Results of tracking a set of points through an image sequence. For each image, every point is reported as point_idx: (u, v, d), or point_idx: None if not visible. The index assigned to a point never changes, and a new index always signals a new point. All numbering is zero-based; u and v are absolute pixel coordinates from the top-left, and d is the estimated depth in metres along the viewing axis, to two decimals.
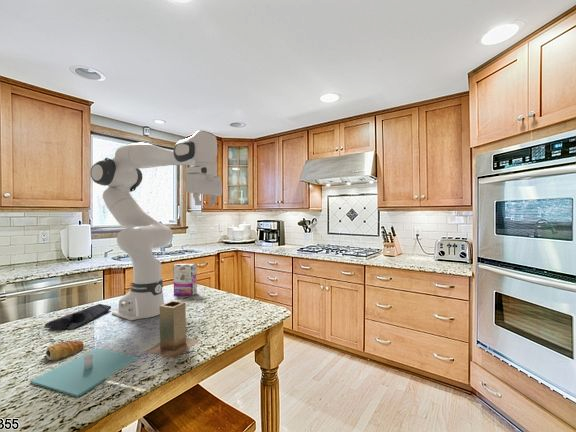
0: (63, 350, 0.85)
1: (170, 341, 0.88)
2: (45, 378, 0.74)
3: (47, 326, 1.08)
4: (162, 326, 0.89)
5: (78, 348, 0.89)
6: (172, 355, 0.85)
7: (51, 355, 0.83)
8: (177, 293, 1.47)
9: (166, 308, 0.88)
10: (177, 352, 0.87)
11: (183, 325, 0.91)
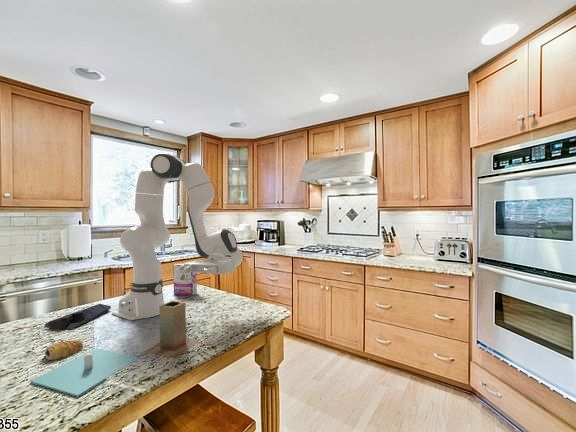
0: (63, 349, 0.85)
1: (170, 341, 0.88)
2: (45, 378, 0.74)
3: (47, 326, 1.08)
4: (162, 326, 0.89)
5: (77, 348, 0.89)
6: (172, 355, 0.85)
7: (50, 355, 0.83)
8: (177, 293, 1.47)
9: (166, 308, 0.88)
10: (177, 352, 0.87)
11: (183, 325, 0.91)
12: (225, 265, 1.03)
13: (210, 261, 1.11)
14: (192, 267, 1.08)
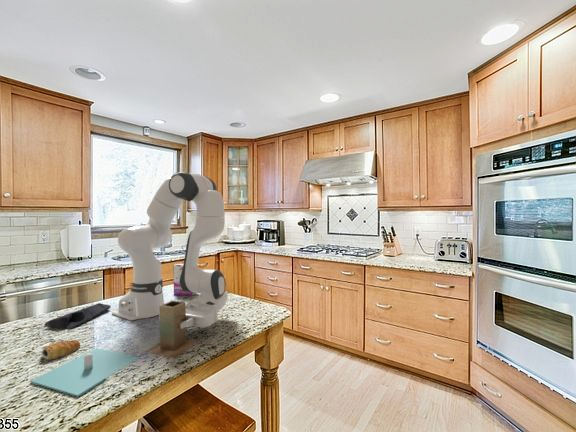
0: (61, 349, 0.86)
1: (170, 341, 0.88)
2: (45, 378, 0.74)
3: (47, 325, 1.08)
4: (162, 326, 0.89)
5: (75, 347, 0.89)
6: (172, 355, 0.85)
7: (49, 354, 0.83)
8: (177, 293, 1.47)
9: (166, 308, 0.88)
10: (177, 352, 0.87)
11: None
12: (206, 318, 0.92)
13: (189, 308, 1.00)
14: None
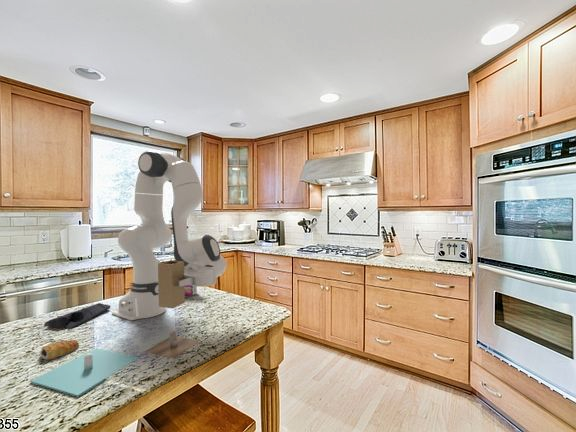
0: (59, 349, 0.86)
1: (169, 298, 0.87)
2: (45, 378, 0.74)
3: (46, 324, 1.09)
4: (160, 284, 0.88)
5: (73, 347, 0.89)
6: (172, 355, 0.85)
7: (47, 354, 0.84)
8: None
9: (164, 265, 0.87)
10: (177, 352, 0.87)
11: None
12: (204, 277, 0.91)
13: (188, 271, 0.99)
14: None
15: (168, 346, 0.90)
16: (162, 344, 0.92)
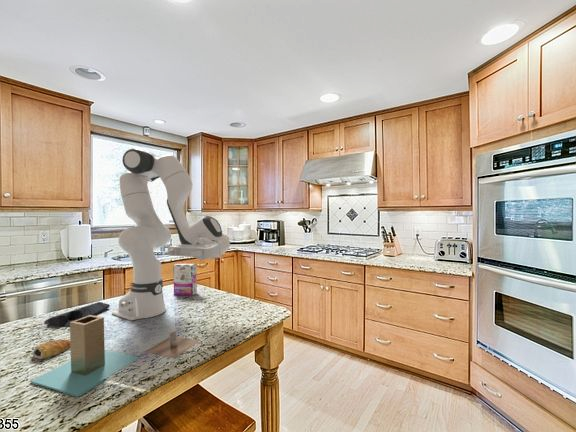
0: (54, 348, 0.87)
1: (81, 364, 0.75)
2: (45, 378, 0.74)
3: (46, 322, 1.11)
4: (73, 346, 0.76)
5: (67, 346, 0.90)
6: (172, 355, 0.85)
7: (42, 354, 0.84)
8: (177, 293, 1.47)
9: (77, 325, 0.75)
10: (177, 352, 0.87)
11: (100, 344, 0.79)
12: (211, 249, 1.00)
13: (196, 245, 1.08)
14: (176, 250, 1.04)
15: (168, 346, 0.90)
16: (162, 344, 0.92)
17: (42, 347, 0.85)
